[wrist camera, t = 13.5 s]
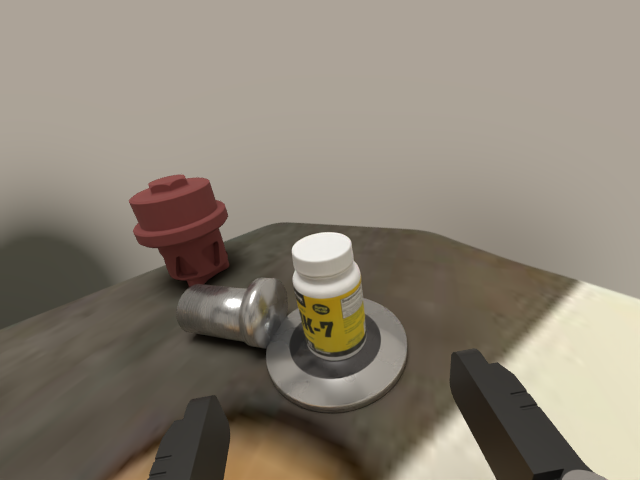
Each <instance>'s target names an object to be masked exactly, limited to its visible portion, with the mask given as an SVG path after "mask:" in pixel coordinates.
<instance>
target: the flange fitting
mask: <svg viewBox="0 0 640 480" xmlns="http://www.w3.org/2000/svg"><path fill="white" fill-rule="evenodd" d="M363 303H364V313H365V323H366V333H367V336H366V341H365V344H364V345H363V347H362V348H361V350H360V351H359V352H358V353H356V354H355V355H353V356H352V357H350V358H347V359H344V360H339V361H330V360H325V359H322V358H320V357H318V356H316V355H315V354H313V353H312V352H311V351H310V349H309V347H308V345H307V342H306V338H305V334H304V330H303V325H302V321H301V317H300V312H299V308H298V309H296V310H294V311H293V312H291V313H290V314H289V315H288V316H287V308H288V302H287V294H286V290H285V287H284V285H283V284H282V282H281V281H280V280H278V279H273V278H258V279H256V280H254V281H253V282H252V283H251V284H250V285H249V287H248V288H247V289H243V288H233V287H223V286H212V285H202V284H196V285H193V286H191V287H189V288H188V289H187V290H186V291H185V292H184V293H183V295H182V296H181V298H180V300H179V303H178V306H177V320H178V323H179V326H180V327H181V328H182V329H183V330H184V331H186V332H190V333H196V334H202V335H207V336H213V337H219V338H225V339H230V340H236V341H242V342H245V343H246V344H247V345H249V346H253V347H259V348H267V350H266V362H267V367H268V370H269V373H270V376H271V379H272V381H273V383H274V385H275V387H276V388H277V389H278V391H279V392H280V393H281V394H282V395H283V396H284V397H285V398H286V399H288V400H289V401H291V402H292V403H294V404H296V405H298V406H300V407H302V408H305V409H308V410H311V411H316V412H322V413H339V412H347V411H352V410H356V409H359V408H362V407H365V406H367V405H369V404H371V403H373V402H375V401H377V400H378V399H380V398H381V397H383V396H384V395H385V394H386V393H387V392H388V391H390V390H391V389H392V388H393V386H394V385H395V384H396V383H397V382H398V380H399V378H400V377H401V375H402V373H403V371H404V368H405V365H406V360H407V339H406V334H405V331H404V328H403V326H402V325H401V323H400V321H399V320H398V319H397V317H396V316H395V315H394V314H393V313H392V312H391V311H389V310H388V309H387V308H385V307H384V306H382V305H380V304H378V303H376V302H374V301H371V300H368V299H364V298H363Z"/></svg>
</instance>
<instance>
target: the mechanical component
mask: <svg viewBox="0 0 640 480" xmlns="http://www.w3.org/2000/svg"><path fill="white" fill-rule="evenodd" d="M129 203H130V205H131V207H132V209H133V212H134V214H135V216H136V218H137V220H138V222H139V223H138V224H137V225H136V226H135V228H134V230H133V232H134V235H135V237H136V239H137V241H138V243H139V244H140V245H143V246H146V247H149V248H158V250H159V252H160V254H161V255H162V256H163V258H164V260H165V264H166V267H167V270H168V272H169V274H170V276H171V277H172V278H173V279H176V280H187V283H188V285H189V287H191V286H193V285H196V284H202V285H204V284H205V283H206V282H207V281H208V280H209V279H210V278H211V277H213V276H214V275H216V274H218V273H219V272H221V271H223V270H225V269H227V268H228V267H229V262H228V259H227V258H228V255H227V252H226V251H225V247H224V243H223V240H222V237H221V233H220V231H219V227H221V226H222V225H223V224H224V222H225V221H226V219H227V217H228V214H227V210H226V208H225V204H224V203H222V202H220V201H217V200H215V197H214V194H213V191H212V188H211V185H210V182H209V180H208V179H205V178H188V179H186V178H185V176H184V175H173V176H168V177H164V178H160V179H157V180H155V181H152V182H150V183H149V188H148V189H146V190H143V191H141V192H139V193H137V194H136V195H134V196H133V197H132V198H131V199H130V200H129Z"/></svg>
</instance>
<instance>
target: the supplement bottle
mask: <svg viewBox="0 0 640 480" xmlns="http://www.w3.org/2000/svg"><path fill="white" fill-rule="evenodd" d="M292 256H293V264H294V268H295V272H294V275H293V286H294V290H295V295H296V299H297V303H298V308H299V312H300V317H301V321H302V325H303V330H304V334H305V338H306V342H307V345H308V347H309V349H310V351H311V352H312V353H313V354H315V355H316V356H318V357H320V358H322V359H325V360H330V361H339V360H344V359H347V358H350V357H352V356H353V355H355V354H356V353H358V352H359V351H360V350H361V348H362V347H363V345H364V344H365V341H366V336H367V333H366V323H365V313H364V303H363V294H362V284H361V274H360V270H359V267H358V266H357V264H356V263H355V262H354V261H353V251H352V245H351V241H350V239H349V238H348V237H346V236H345V235H342V234H339V233H332V232H326V233H318V234H313V235H310V236H307V237H305V238H303V239H301V240H299V241H298V242H297V243H296V244H295V245H294V246H293V248H292Z"/></svg>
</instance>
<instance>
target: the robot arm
mask: <svg viewBox="0 0 640 480" xmlns="http://www.w3.org/2000/svg"><path fill="white" fill-rule="evenodd" d="M450 388H451V392H452V395H453V398H454V400H455V402H456V404H457V406H458V408H459V410H460V412H461V413H462V415H463V417H464V419H465V421H466V423H467V425H468V427H469V428H470V430H471V432H472V434H473V436H474V438H475V440H476V442H477V443H478V445H479V447H480V449H481V451H482V453H483V455H484V457H485V459H486V460H487V462H488V464H489V466H490V468H491V470H492V472H493V474H494V475H495V477H496V479H497V480H607V479H605V478H604V477H602V476H600V475H598V474H596V473H594V472H593V471H592V470H591V469H590V468H589V467H588V466H586V465H585V463H584V462H583V461H582V460H581V459H580V458H579V456H578V455H577V454H576V453H575V451H574V450H573V449H572V447H571V446H570V445H569V444H568V442H567V441H566V440H565V439H564V437H563V436H562V435H561V433H560V432H559V431H558V430H557V428H556V427H555V426H554V425H553V423H552V422H551V421H550V420H549V418H548V417H547V416H546V414H545V413H544V412H543V411H542V409H541V408H540V407H538V406H537V403H536V402H535V400H534V399H533V398H532V397H531V395H530V394H528V393H527V390H526V389H525V388H524V386H523V385H522V384H521V383H520V381H519V380H518V379H517V378H516V376H515V375H514V374H513V373H511V372H510V371H508V370H507V369H506V368H504V367H503V366H502V365H500V364H499V363H498V362H497V363H492V364H488V362H487V361H486V360H485V358H484V357H483V356H482V354H481V353H480V352H479V351H478V350H477V349H469V350H463V351H458V352H453V353H452V355H451V369H450ZM229 443H230V428H229V423H228V420H227V418H226V416H225V414H224V412H223V410H222V407H221V405H220V403H219V401H218V399H217V397H216V396H215V395H212V396H207V397H202V398H196V399H192V400H190V402H189V403H188V406H187V409H186V412H185V415H184V418H183V419H182V420H177V421H174V422H173V424H172V425H171V427H170V428H169V430H168V431H167V432H166V434H165V435H164V437H163V438H162V440H161V443H160V446H159V449H158V452H157V454H156V457H155V462H154V463H153V465H152V468H151V471H150V474H149V479H147V480H223V479H224V473H225V467H226V461H227V455H228V449H229Z"/></svg>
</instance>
